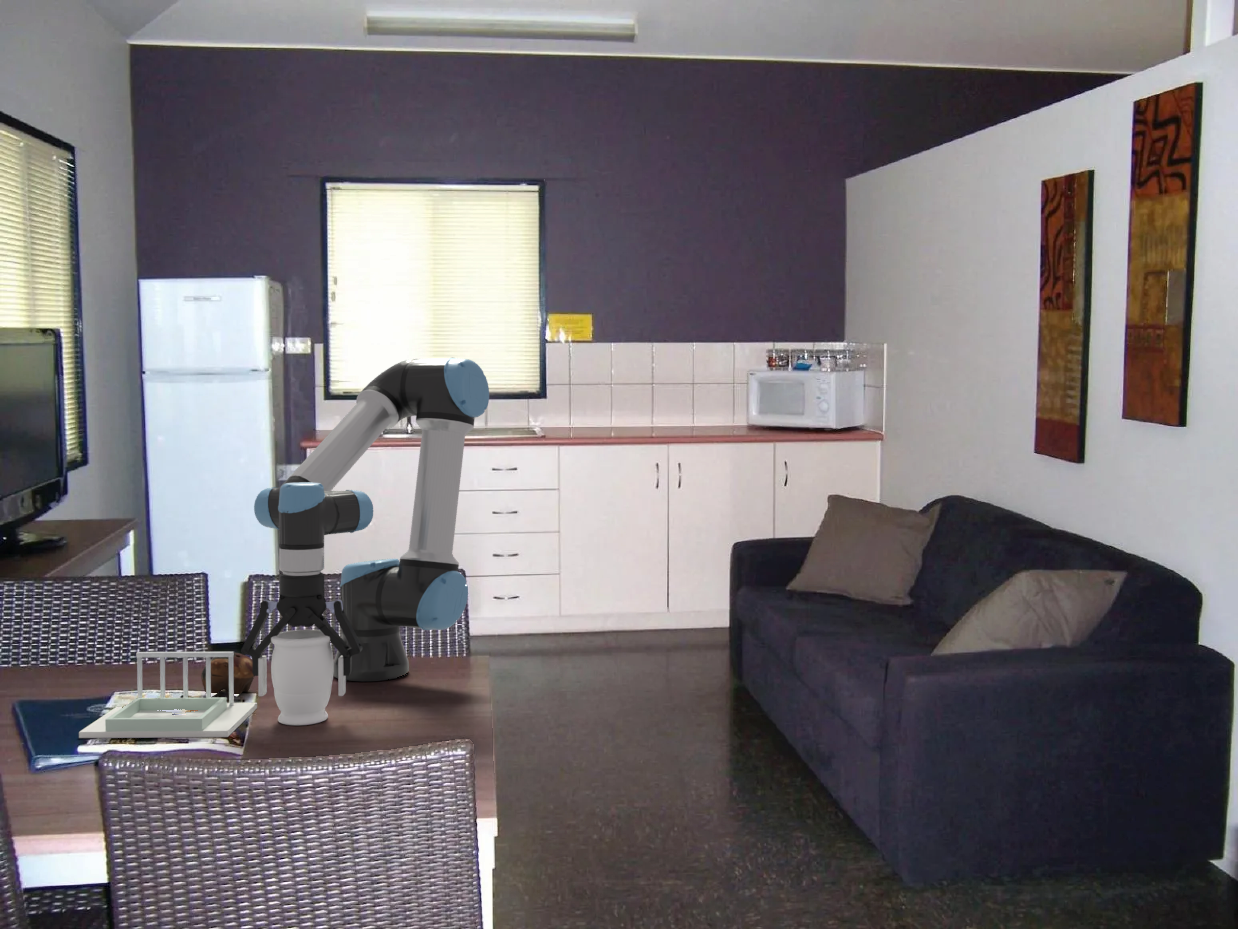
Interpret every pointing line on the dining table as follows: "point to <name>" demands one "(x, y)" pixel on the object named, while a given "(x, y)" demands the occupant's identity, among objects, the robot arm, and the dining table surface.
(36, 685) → the dining table surface
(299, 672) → the jar
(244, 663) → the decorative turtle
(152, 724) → the dish rack
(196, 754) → the dining table surface
